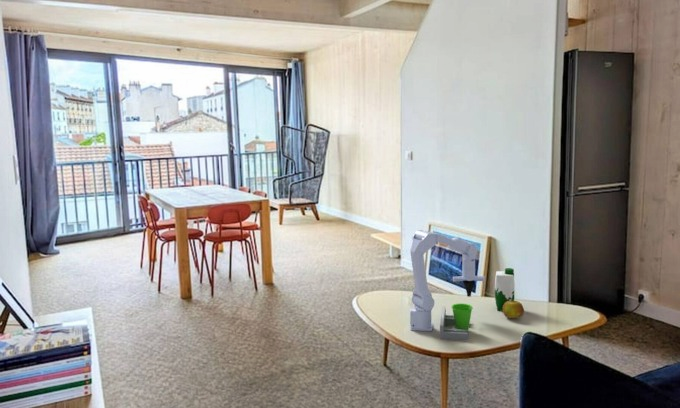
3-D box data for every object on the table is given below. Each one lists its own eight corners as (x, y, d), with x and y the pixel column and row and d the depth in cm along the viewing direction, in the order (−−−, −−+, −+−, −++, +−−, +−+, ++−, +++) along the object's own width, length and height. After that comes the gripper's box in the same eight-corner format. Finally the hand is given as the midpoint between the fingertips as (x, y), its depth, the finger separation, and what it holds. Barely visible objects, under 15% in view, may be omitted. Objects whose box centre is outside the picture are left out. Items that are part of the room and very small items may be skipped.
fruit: (515, 313, 236) (515, 297, 235) (528, 319, 227) (528, 302, 226) (498, 316, 233) (498, 299, 232) (510, 322, 225) (510, 305, 224)
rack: (440, 339, 210) (440, 323, 209) (442, 320, 230) (442, 306, 229) (468, 340, 207) (467, 324, 206) (467, 322, 227) (467, 307, 226)
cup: (474, 334, 213) (474, 310, 212) (453, 335, 214) (453, 310, 212) (470, 326, 222) (470, 303, 220) (450, 327, 223) (449, 303, 221)
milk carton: (514, 312, 237) (515, 271, 234) (495, 311, 240) (495, 271, 237) (513, 306, 246) (513, 267, 243) (494, 305, 248) (494, 266, 245)
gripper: (454, 270, 227) (454, 298, 229) (486, 269, 225) (486, 298, 227) (452, 266, 234) (452, 293, 236) (483, 265, 232) (483, 293, 234)
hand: (468, 295), depth 232 cm, fingers closed
